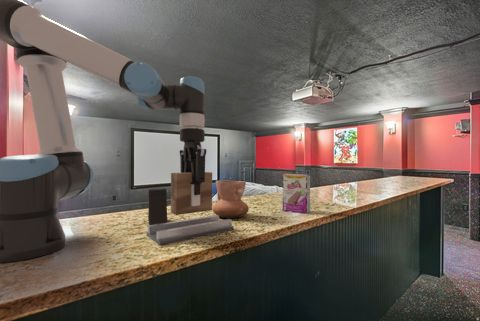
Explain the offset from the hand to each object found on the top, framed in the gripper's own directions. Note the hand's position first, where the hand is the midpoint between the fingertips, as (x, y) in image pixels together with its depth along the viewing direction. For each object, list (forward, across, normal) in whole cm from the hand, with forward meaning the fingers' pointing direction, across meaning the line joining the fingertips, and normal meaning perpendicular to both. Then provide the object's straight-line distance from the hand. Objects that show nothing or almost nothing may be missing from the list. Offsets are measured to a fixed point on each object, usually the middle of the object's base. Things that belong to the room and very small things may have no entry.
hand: (191, 204), depth 76 cm
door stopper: (+9, +19, +4) cm, 21 cm away
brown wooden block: (+2, 0, 0) cm, 2 cm away
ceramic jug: (+9, +12, -23) cm, 27 cm away
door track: (+9, 0, 0) cm, 9 cm away
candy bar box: (+9, +1, -51) cm, 52 cm away
